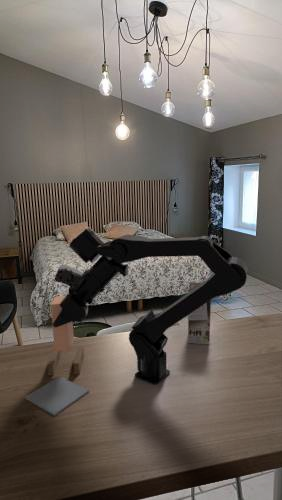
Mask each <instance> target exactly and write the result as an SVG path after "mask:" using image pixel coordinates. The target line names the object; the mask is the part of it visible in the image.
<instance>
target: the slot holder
mask: <svg viewBox="0 0 282 500" xmlns="http://www.w3.org/2000/svg"><path fill="white" fill-rule="evenodd" d="M84 351H85V350H84V345H80V346H79V345H77V349H76V352H75V356H74V360H73V365H72V366H73V375H80V374H81V369H82V365H83V363H84V357H85V354H84ZM60 360H61V351H55V348H54V347H53V350H52V352H51V354H50V357H49V360H48V362H47V365H46V367H47V375H48V376H54V375H55V373H56V370H57V367H58V365H59V363H60V362H59V361H60Z"/></svg>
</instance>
